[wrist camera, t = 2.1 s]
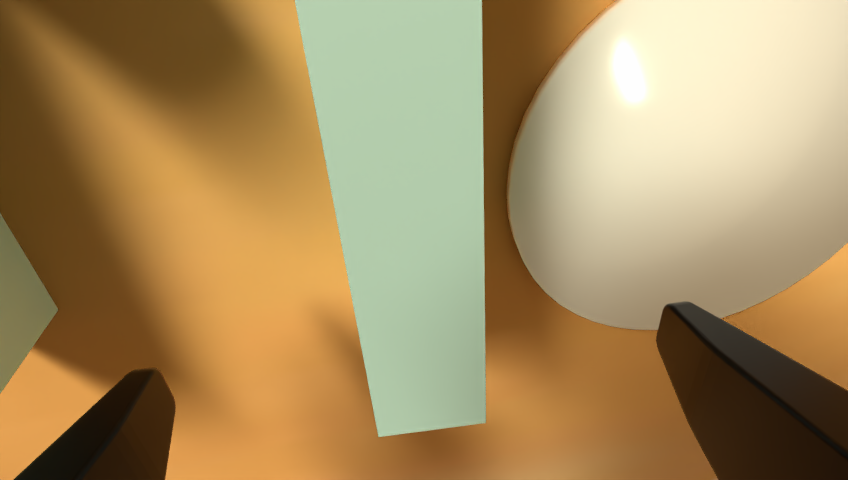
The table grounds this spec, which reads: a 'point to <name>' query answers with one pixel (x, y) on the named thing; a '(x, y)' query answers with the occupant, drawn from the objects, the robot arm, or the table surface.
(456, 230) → the c link
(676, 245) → the cream oval dome
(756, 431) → the robot arm
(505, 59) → the table surface
